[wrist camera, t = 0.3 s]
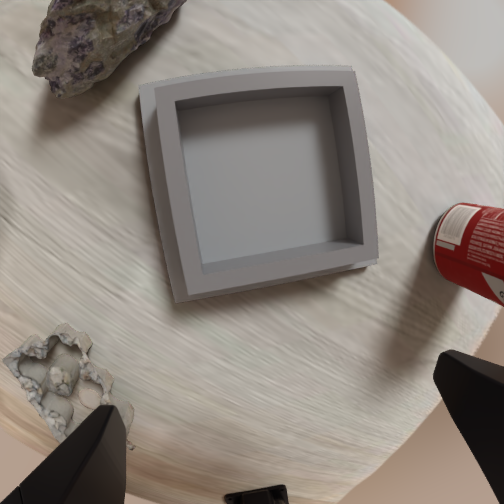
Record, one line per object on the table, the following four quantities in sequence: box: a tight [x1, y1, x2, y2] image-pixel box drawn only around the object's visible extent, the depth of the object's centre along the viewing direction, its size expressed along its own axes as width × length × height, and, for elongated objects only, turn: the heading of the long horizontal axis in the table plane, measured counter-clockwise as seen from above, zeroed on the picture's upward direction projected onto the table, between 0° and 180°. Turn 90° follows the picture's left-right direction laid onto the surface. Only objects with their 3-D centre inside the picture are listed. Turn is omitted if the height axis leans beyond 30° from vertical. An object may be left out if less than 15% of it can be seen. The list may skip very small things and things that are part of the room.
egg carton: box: [2, 323, 135, 450], centre depth 20 cm, size 11×8×4 cm
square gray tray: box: [139, 65, 379, 303], centre depth 18 cm, size 14×14×4 cm
